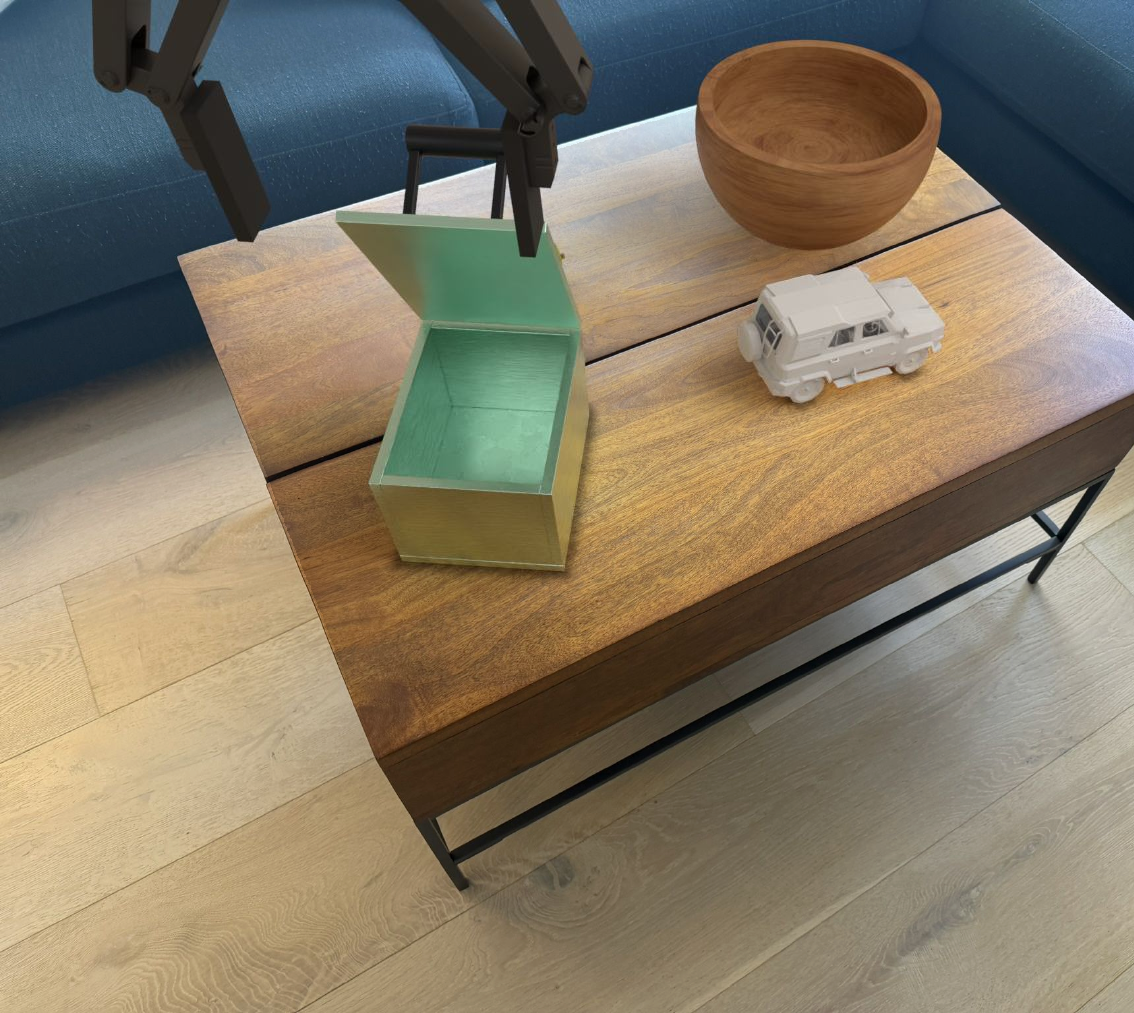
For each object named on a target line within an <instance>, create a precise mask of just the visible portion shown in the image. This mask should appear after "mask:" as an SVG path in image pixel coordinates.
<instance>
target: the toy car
mask: <svg viewBox="0 0 1134 1013" xmlns="http://www.w3.org/2000/svg"><path fill="white" fill-rule="evenodd" d="M855 262H856V264H857V261H855ZM869 280H870V275H869V273H866V272H864V271H861V269H860V268H859V267H858V266H854V265H853V266H850V267H846V268H842V269H838V270H833V271H829V272H826V273H825V272H824V273H820V274H817V275H814V274H804V275H800V276H796V277H792V278H788V279H785V280H780V281H777V282H772V283H769V284H765V285H764V288H763V289H762V290H761V291H760V294H759V296H758V298H757V300H756V303H755V306H754V308H753V311H752V313H751V314H749V317H748V321H746V322H743V323H740V324H738V327H737V332H736V333H737V344H738V349H739V351H740V353H741V356H742V357H743V359H744V360H745V361H746V362H747V363H752V364H753V365H754V367H755V369H756V371H757V372H758V373H757V375H758V377H760V378H761V379H762V380H763V382H764V383H765V386H766V387H767V389H768V390H769V392H770V394H771V395H772V396H777V397H783V398H784V397H788V398H790V400H791V401H792V402H793V403H797V404H803V403H807V402H810V401H812V400H814V399H815V398H816V397H818V396H819V395H820V394H821V392H822V391H823V390H824V386H825V383H826V382H825V380H824V378H826V380H827V382H828V384H829V385H830V384H831V383H833V384H834V385H835V386H836V388H837V389H839V388H844V387H847V386H851V385H854V384H858V383H862V382H865V381H866V382H867V381H869V380H874V379H876V378H880V377H884V376H888V375H892V374H893V371H892V370H891V368H890V367H893V369H894V370H895V371H896V372H897V373H898V374H899V375H907V374H911V373H913V372H915V371H917V370H918V369H919V368H921V367H922V366H923V365H924V363H926V361H927V359H928V357H929V355H930V353H929V348H930V350H931V351H930V352H931V354H932V355H935V354H936V353H938V352H940V351H942V343H941V340H943V339H944V338H945V335H944V333H945V329H946V324H945V323H944V321H943V320H942V318H941V316H940V315H939V314H938V313H937V312H936V311H935V309H934V308H933V306H932V305H930V304H931V303H929V301H927V299H926V298H925V296H924V295H923V294H922V292H921V291H920V290H919V289H918V287H917V286H916V285H914V283H913V282H912V281H911V280H910V279H909V278H908V277H907V276H904V277H896V278H890V279H885V280H881V281H880V280H879V281H876V282H871V281H869Z"/></svg>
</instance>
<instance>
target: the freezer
mask: <svg viewBox="0 0 1134 1013" xmlns="http://www.w3.org/2000/svg"><path fill="white" fill-rule="evenodd" d="M584 348H585V347H584V338H583V329H582V328H581V329H575V328H557V327H540V326H522V325H504V324H486V323H468V322H451V321H433V320H421V324H420V328H419V330H418V333H417V336H416V339H415V342H414V345H413V349H412V352H411V354H410V357H409V360H408V363H407V367H406V369H405V372H404V375H403V378H402V381H401V384H400V387H399V390H398V393H397V395H396V400H395V402H394V404H393V408H392V411H391V414H390V417H389V419H388V423H387V426H386V429H385V431H384V434H383V438H382V440H381V445H380V447H379V450H378V453H377V457H376V458H375V462H374V465H373V468H372V470H371V473H370V477H369V481H368V486H369V488H370V492H371V493H372V495H373V497H374V500H375V502H376V504H377V507H378V509H379V511H380V513H381V516H382V518H383V520H384V523H385V525H386V527H387V530H388V532H389V534H390V537H391V539H392V542H393V543H394V546H395V549H396V550H397V553H398V555H399V558H400V559H401V562H410V563H423V564H424V563H425V564H442V565H457V566H470V567H471V566H472V567H473V566H474V567H487V568H502V569H503V568H504V569H518V570H519V569H521V570H535V571H551V572H565V569H566V564H567V563H566V562H567V556H568V552H569V551H568V550H569V544H570V537H571V531H572V526H573V520H574V512H575V507H576V500H577V494H578V488H579V481H580V475H581V469H582V463H583V456H584V451H585V445H586V439H587V438H586V437H587V434H588V427H589V419H590V403H589V402H590V401H589V393H588V392H589V391H588V382H587V381H588V380H587V371H586V361H585V360H586V359H585V350H584Z"/></svg>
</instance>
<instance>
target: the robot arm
mask: <svg viewBox="0 0 1134 1013" xmlns="http://www.w3.org/2000/svg"><path fill="white" fill-rule="evenodd" d="M230 1H231V0H178V2H177V5H176V7H175V9H174V11H173V14H172V17H171V20H170V22H169V25H168V27H167V30H166V33H165V35H164V37H163V40H162V42H161V45H160V46H159V50H158V52H157V51H155V50H152V49H151V24H152V23H151V21H152V19H151V18H152V0H91V21H92V22H91V23H92V26H91V27H92V61H93V62H92V65H93V75H94V76H93V77H94V78H95V80H96V82H97V83H98V84H99V85H100V86H101V87H102V88H104V89H105V90H106V91H108V92H110V93H115V94H121V93H123V92H124V91H125V90H128V91H132V92H134V93H137V94H141V95H143V96H145V97H146V99H147V100H148V101H149V102H150V103H151V104H152V105H154V106H155V107H157V108H158V109H159V110H160V113H161V114H162V116H163V118H164V120H165V122H166V124H167V127H168V128H169V131H170V133H171V135H172V137H173V139H174V140H175V143H176V146H177V147H178V148H179V149H178V150H179V151H180V154H181V156H182V158H183V160H184V161H185V162H186V164H187V165H188V166H189V167H190V168H191V169H192V170H193V171H199V172H200V171H203V172H205V174H206V176H207V179H208V180H209V182H210V185H211V187H212V188H213V191H214V193H215V196H216V197H217V199H218V202H219V204H220V206H221V208H222V211H223V212H224V215H225V217H226V219H227V221H228V223H229V226H230V227H231V230H232V232H233V234H234V237H235V239H236V241H237V242H238V243H240V242H241V243H254V242H255V240H256V238H257V236H258V235H259V232H260V231H261V229H262V228H263V226H264V224H265V222H266V219H267V218H268V215H269V214H270V212H271V210H272V208H273V207H272V204H271V202H270V200H269V197H268V195H267V192H266V190H265V188H264V185H263V182H262V181H261V178H260V175H259V172H258V170H257V169H256V166H255V163H254V161H253V158H252V156H251V154H250V151H249V148H248V146H247V144H246V142H245V138H244V137H243V134H242V131H241V129H240V127H239V124H238V122H237V120H236V117H235V114H234V113H233V112H234V111H233V110H232V107H231V105H230V102H229V100H228V98H227V95H226V93H225V90H224V88H223V85H222V83H221V81H220V80H213V79H212V80H209V79H203V80H202V81H201V82H200V83H199V85H198V84H197V82H196V80H195V78H197V75H198V74H199V73H200V71H202V68H203V67H204V66H203V65H202V64H203V62H204V59H205V57H206V55H207V52H208V51H209V49H210V46H211V44H212V42H213V39H214V38H215V35H216V33H217V30H218V29H219V26H220V24H221V21H222V19H223V17H224V15H225V12H226V10H227V8H228V5H229V3H230ZM396 1H397V2H399V3H401V4H402V6H404V7H405V8H406V10H408V12H410V13H411V14H412V15H413V16H414V17H415V18H416V19H417V20H418V21H419V22H420V23H421V25H422V26H423V27H425V28H426V29H427V30H428V32H429V33H430V34H431V35H432V36H433V37H434V38H435V39H436V40H437V41H438V42H440V44H441V45H442V46H443V47H444V48H445V49H446V50H448V52H450V54H451V55H452V56H453V57H454V58H456V59H457V61H458V62H459V63H461V65H462V66H463V67H464V68H465V69H466V70H468V72H469V73H470V74H471V75H472V76H473V77H474V78H475V79H476V80H477V81H478V82H479V83H480V84H481V85H482V86H483V87H484V88H485V89H486V90H487V91H488V92H489V93H490V94H491V95H492V96H493V97H494V98H495V99H496V100H497V101H498V102H499V103H500V104H501V105H502V106H503V107H504V108H505V109H506V111H505V114H504V117H503V120H502V123H501V127H500V129H501V130H500V132H501V138H502V145H503V151H504V157H505V164H506V170H507V182H508V189H509V195H510V196H509V197H510V201H511V209H512V214H513V215H512V216H513V220H514V222H515V228H516V235H517V241H518V248H519V254H520V257H532V258H536V254H537V250H538V246H539V242H540V237H541V233H542V229H543V225H544V221H545V219H544V218H545V217H544V210H543V201H542V194H541V193H542V192H541V189H552V186H553V183H554V180H555V177H556V173H557V168H558V164H559V160H560V159H559V151H558V141H557V131H556V130H557V129H556V122H555V121H556V120H555V117H557V116H559V115H562V114H566V115H570V116H578V115H581V114H582V113H584V112H585V111H586V109H587V107H588V103H589V98H590V94H591V89H592V84H593V79H594V76H595V69H594V65H593V63H592V61H591V60H590V58H589V56H588V55H587V53H586V50H585V48H584V47H583V45H582V43H581V42H580V39H579V38H578V36H577V35H576V32H575V31H574V29H573V27H572V25H571V23H570V22H569V20H568V18H567V17H566V15H565V13H564V11H563V9H562V7H561V6H560V3H559V1H558V0H494V1H495V3H496V5H498V7H499V9H500V10H501V12H502V14H503V15H504V17H505V19H506V20H507V23H508V24H509V25H510V27H511V29H512V30H513V32H514V34H515V35H516V37H517V39H516V38H515V36H514V35H513V34H512V33H511V32H509V30H508V29H507V28H506V27H505V25H503V23H501V21H499V20H498V18H496V16H495V15H494V14H493V13H492V12H491V11H490V10H489V9H488V7H487V6H486V5H485V4H484V3H483V2H482V1H481V0H396ZM518 40H519V41H518Z"/></svg>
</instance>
